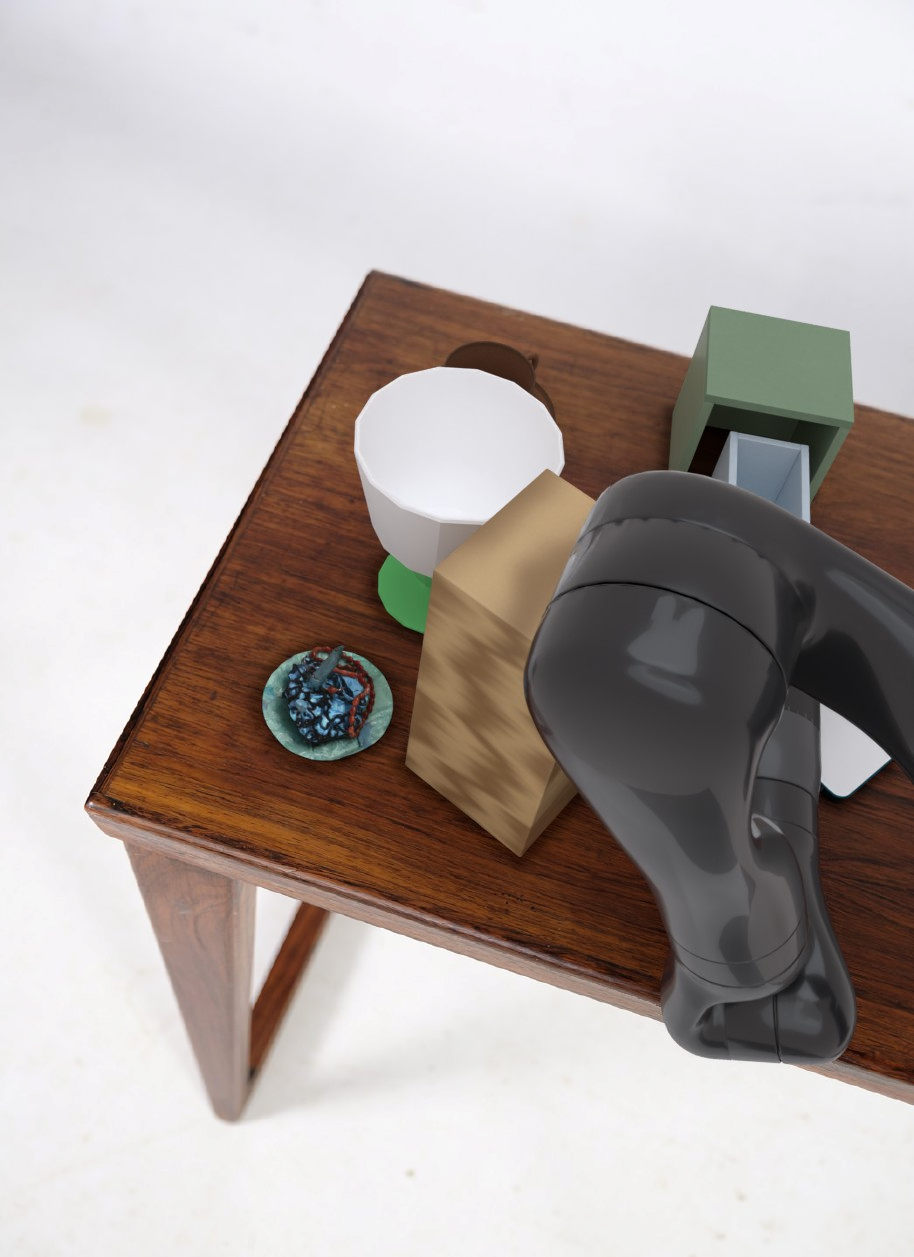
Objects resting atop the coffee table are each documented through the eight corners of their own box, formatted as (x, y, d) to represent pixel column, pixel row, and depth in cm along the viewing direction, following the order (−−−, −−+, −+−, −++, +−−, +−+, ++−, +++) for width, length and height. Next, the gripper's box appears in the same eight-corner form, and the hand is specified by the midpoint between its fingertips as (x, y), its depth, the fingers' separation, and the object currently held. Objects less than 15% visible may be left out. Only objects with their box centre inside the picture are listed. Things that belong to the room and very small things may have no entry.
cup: (539, 535, 93) (577, 388, 80) (513, 681, 85) (551, 543, 72) (368, 500, 93) (378, 347, 80) (326, 642, 86) (330, 498, 73)
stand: (607, 758, 83) (692, 565, 65) (520, 858, 78) (585, 679, 60) (495, 673, 86) (547, 467, 68) (404, 765, 81) (433, 568, 63)
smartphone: (905, 749, 86) (744, 599, 92) (911, 743, 85) (748, 592, 91) (835, 809, 82) (673, 650, 88) (840, 804, 81) (676, 643, 87)
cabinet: (799, 524, 97) (854, 422, 87) (666, 499, 97) (706, 394, 87) (798, 436, 103) (850, 331, 93) (672, 412, 103) (710, 304, 93)
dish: (239, 662, 81) (333, 633, 78) (295, 655, 87) (384, 628, 84) (268, 777, 80) (363, 753, 77) (322, 761, 87) (412, 738, 84)
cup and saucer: (445, 358, 103) (453, 302, 98) (573, 409, 101) (587, 355, 96) (383, 446, 97) (387, 391, 92) (518, 503, 95) (530, 450, 90)
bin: (773, 656, 88) (811, 591, 82) (694, 640, 88) (725, 574, 82) (774, 514, 96) (809, 445, 90) (701, 500, 96) (730, 430, 90)
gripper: (894, 734, 73) (881, 527, 83) (662, 689, 73) (676, 488, 83) (848, 790, 79) (841, 591, 89) (634, 749, 79) (650, 555, 89)
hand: (761, 542), depth 86 cm, fingers closed on bin, 6 cm apart
